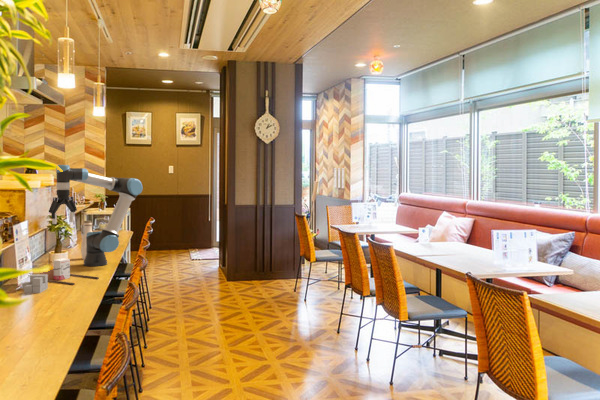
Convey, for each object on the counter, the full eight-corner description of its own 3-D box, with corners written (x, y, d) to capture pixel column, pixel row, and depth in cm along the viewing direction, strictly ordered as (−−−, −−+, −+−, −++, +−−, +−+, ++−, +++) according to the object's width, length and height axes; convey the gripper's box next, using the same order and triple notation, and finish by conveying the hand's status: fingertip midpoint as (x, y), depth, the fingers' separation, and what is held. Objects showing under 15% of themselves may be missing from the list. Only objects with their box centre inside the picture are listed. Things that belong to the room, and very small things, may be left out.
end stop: (66, 274, 329) (66, 265, 328) (69, 275, 328) (69, 265, 328) (40, 280, 310) (39, 270, 310) (42, 281, 309) (42, 271, 309)
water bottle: (88, 260, 382) (88, 221, 381) (77, 259, 384) (77, 221, 383) (96, 258, 392) (96, 220, 391) (85, 257, 394) (85, 220, 393)
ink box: (59, 280, 312) (59, 260, 312) (53, 279, 314) (52, 260, 313) (70, 277, 320) (70, 258, 320) (63, 277, 322) (63, 257, 321)
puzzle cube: (24, 288, 290) (24, 274, 290) (47, 288, 292) (47, 274, 292) (16, 293, 278) (15, 278, 278) (40, 293, 280) (40, 278, 280)
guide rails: (67, 275, 329) (67, 273, 328) (98, 278, 319) (98, 277, 319) (40, 280, 310) (40, 279, 310) (73, 285, 301) (73, 283, 301)
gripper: (73, 188, 345) (73, 221, 346) (42, 189, 322) (42, 224, 323) (82, 189, 342) (82, 221, 344) (51, 190, 319) (51, 225, 320)
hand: (63, 223), depth 333 cm, fingers open, 13 cm apart
